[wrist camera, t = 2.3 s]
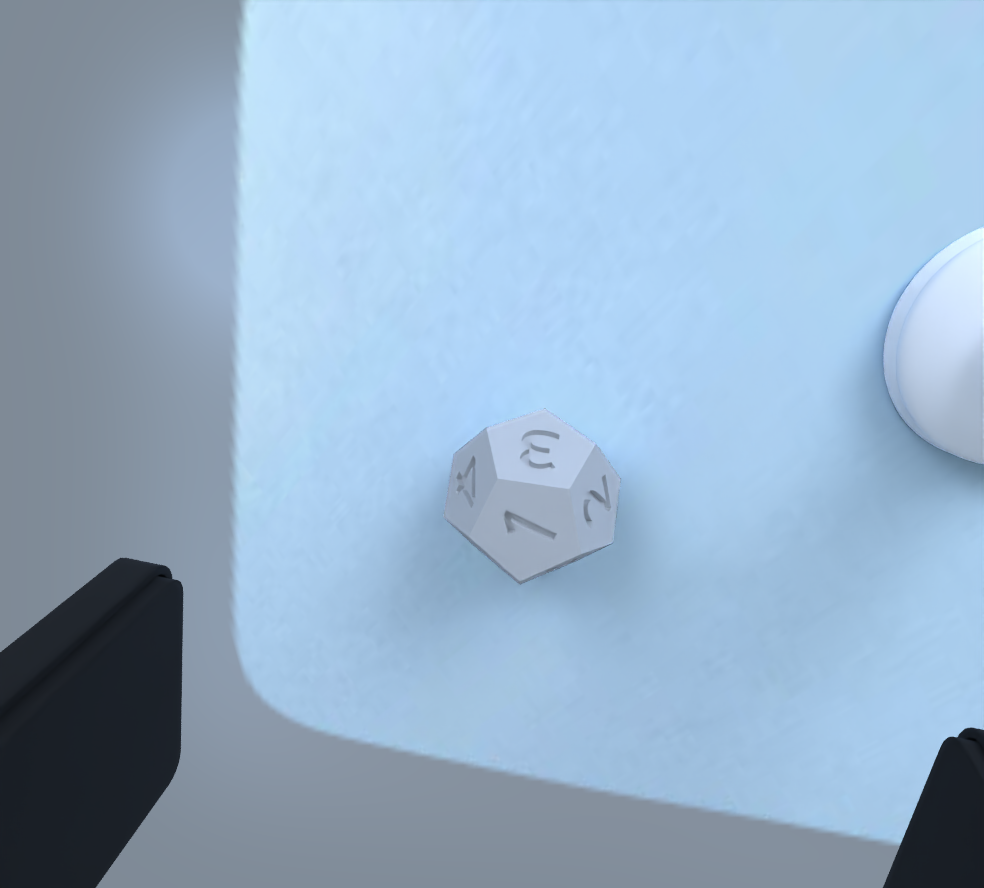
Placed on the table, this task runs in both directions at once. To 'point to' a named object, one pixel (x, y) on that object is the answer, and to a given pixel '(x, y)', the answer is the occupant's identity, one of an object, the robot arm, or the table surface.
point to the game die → (533, 495)
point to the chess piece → (942, 350)
